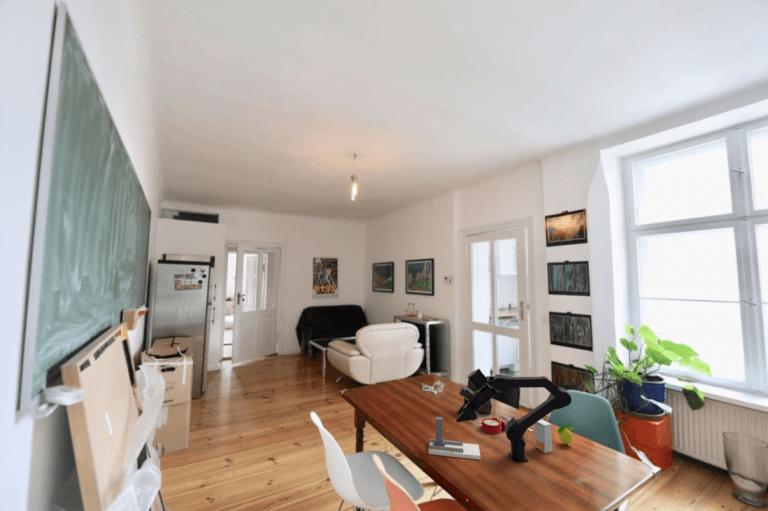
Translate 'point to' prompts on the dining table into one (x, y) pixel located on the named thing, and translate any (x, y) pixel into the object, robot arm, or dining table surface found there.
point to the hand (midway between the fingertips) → (457, 417)
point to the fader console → (455, 449)
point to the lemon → (565, 434)
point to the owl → (484, 409)
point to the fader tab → (439, 432)
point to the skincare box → (543, 436)
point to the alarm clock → (492, 425)
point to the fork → (510, 419)
